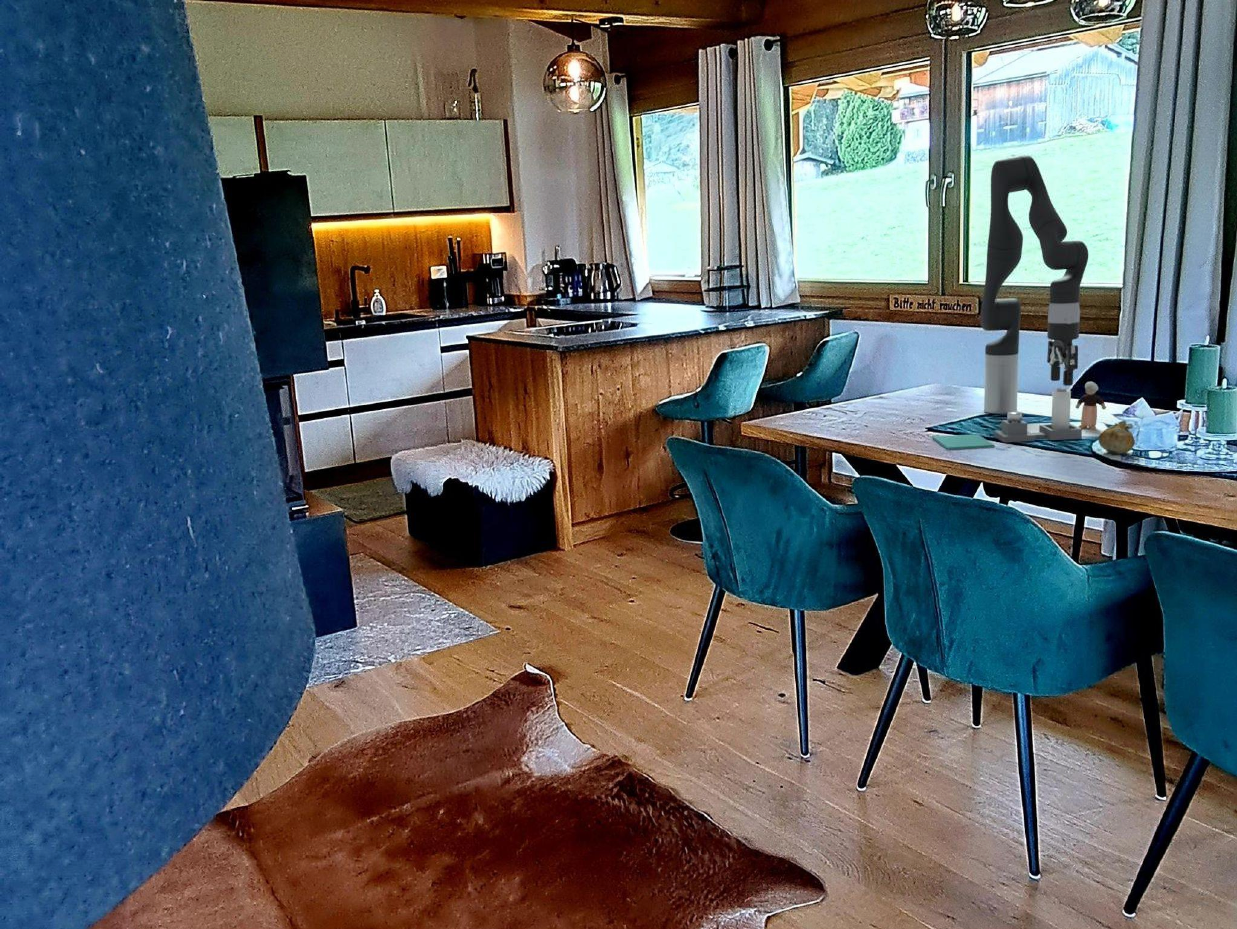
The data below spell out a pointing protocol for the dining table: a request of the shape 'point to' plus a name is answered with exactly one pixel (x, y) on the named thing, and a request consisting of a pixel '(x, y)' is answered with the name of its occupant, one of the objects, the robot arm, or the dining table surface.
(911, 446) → the dining table surface
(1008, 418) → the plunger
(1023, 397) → the dining table surface
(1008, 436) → the dock
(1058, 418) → the cylinder
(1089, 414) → the grandmother figurine
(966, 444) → the mat
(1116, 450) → the onion
